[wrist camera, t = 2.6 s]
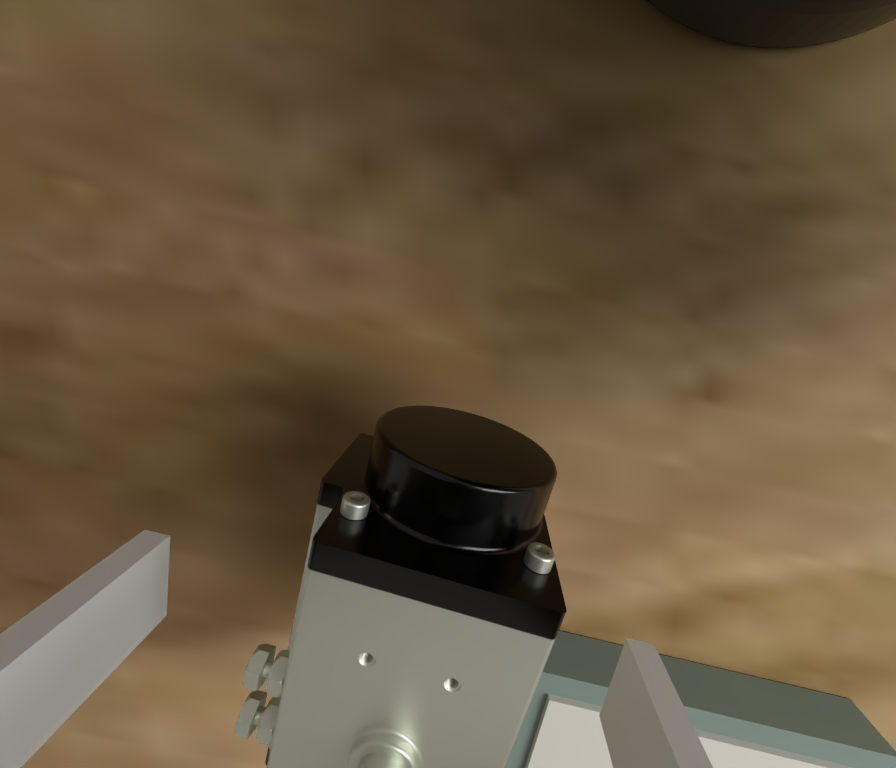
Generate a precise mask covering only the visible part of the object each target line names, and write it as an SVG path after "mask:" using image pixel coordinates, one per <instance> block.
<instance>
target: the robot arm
mask: <svg viewBox="0 0 896 768" xmlns="http://www.w3.org/2000/svg"><path fill="white" fill-rule="evenodd" d="M649 1H650V2H651V3H652V4H654V5H655V6H656V7H657V8H659V9H660V10H661V11H663V12H664V13H666V14H667V15H669V16H670V17H672V18H673V19H675V20H676V21H678V22H680V23H682V24H684V25H686V26H688V27H689V28H691V29H693V30H696V31H698V32H701V33H703V34H706V35H708V36H711V37H714V38H717V39H721V40H724V41H728V42H733V43H737V44H742V45H750V46H758V47H798V46H806V45H815V44H820V43H825V42H830V41H835V40H838V39H842V38H846V37H849V36H853V35H856V34H859V33H862V32H864V31H867V30H870V29H873V28H875V27H878V26H880V25H882V24H885V23H887V22H889V21H892V20H894V19H896V0H649ZM169 554H170V535H166V534H162V533H157V532H153V531H148V530H144V531H142V532H141V533H139V534H138V535H137V536H135V537H134V538H133V539H131V540H130V541H128V542H127V543H126V544H124V545H123V546H121V547H120V548H119V549H117V550H116V551H114V552H113V553H112V554H110V555H109V556H108V557H106V558H105V559H103V560H102V561H101V562H99V563H98V564H96V565H95V566H94V567H92V568H91V569H90V570H88V571H87V572H85V573H84V574H83V575H81V576H80V577H78V578H77V579H76V580H74V581H73V582H72V583H70V584H69V585H67V586H66V587H65V588H63V589H62V590H60V591H59V592H58V593H56V594H55V595H53V596H52V597H51V598H49V599H48V600H47V601H45V602H44V603H42V604H41V605H40V606H38V607H37V608H35V609H34V610H33V611H31V612H30V613H29V614H27V615H26V616H24V617H23V618H22V619H20V620H19V621H17V622H16V623H15V624H13V625H12V626H11V627H9V628H8V629H6V630H5V631H4V632H2V633H1V634H0V768H21V767H22V766H23V765H24V764H25V763H26V762H27V761H28V759H29V758H30V757H31V756H32V755H33V754H34V753H35V752H36V751H37V750H38V749H39V748H40V747H41V746H42V745H43V744H44V743H45V742H46V741H47V740H48V739H49V738H50V737H51V735H52V734H53V733H54V732H55V731H56V730H57V729H58V728H59V727H60V726H61V725H62V724H63V723H64V722H65V721H66V720H67V719H68V718H69V717H70V716H71V715H72V714H73V713H74V711H75V710H76V709H77V708H78V707H79V706H80V705H81V704H82V703H83V702H84V701H85V700H86V699H87V698H88V697H89V696H90V695H91V694H92V693H93V692H94V691H95V690H96V689H97V688H98V686H99V685H100V684H101V683H102V682H103V681H104V680H105V679H106V678H107V677H108V676H109V675H110V674H111V673H112V672H113V671H114V670H115V669H116V668H117V667H118V666H119V665H120V664H121V662H122V661H123V660H124V659H125V658H126V657H127V656H128V655H129V654H130V653H131V652H132V651H133V650H134V649H135V648H136V647H137V646H138V645H139V644H140V643H141V642H142V641H143V640H144V639H145V637H146V636H147V635H148V634H149V633H150V632H151V631H152V630H153V629H154V628H155V627H156V626H157V625H158V624H159V623H160V622H161V621H162V620H163V619H164V618H165V617H166V616H167V596H168V575H169ZM599 717H600V721H601V724H602V728H603V732H604V735H605V739H606V743H607V746H608V750H609V754H610V757H611V761H612V765H613V768H713V766H712V764H711V762H710V760H709V758H708V756H707V754H706V752H705V750H704V748H703V746H702V743H701V741H700V739H699V737H698V735H697V733H696V731H695V729H694V727H693V725H692V723H691V720H690V718H689V716H688V714H687V712H686V710H685V708H684V706H683V704H682V702H681V700H680V697H679V695H678V693H677V691H676V689H675V687H674V685H673V683H672V681H671V679H670V677H669V674H668V672H667V670H666V668H665V666H664V664H663V662H662V660H661V658H660V656H659V654H658V651H657V649H656V647H655V645H654V644H651V643H646V642H642V641H638V640H633V639H629V638H626V641H625V643H624V646H623V649H622V652H621V655H620V658H619V660H618V663H617V666H616V669H615V672H614V675H613V678H612V680H611V683H610V686H609V689H608V692H607V695H606V697H605V700H604V703H603V706H602V709H601V712H600V714H599Z"/></svg>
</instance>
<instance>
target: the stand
mask: <svg viewBox="0 0 896 768" xmlns="http://www.w3.org/2000/svg"><path fill="white" fill-rule="evenodd" d="M622 649H623V646H622V645H618V644H614V643H610V642H605V641H601V640H597V639H593V638H588V637H584V636H580V635H576V634H571V633H567V632H563V631H558V634H557V636H556V639H555V641H554V644H553V646H552V649H551V651H550V654H549V656H548V659H547V661H546V664H545V667H544V669H543V672H542V674H541V677H540V679H539V682H538V684H537V687H536V689H535V692H534V694H533V697H532V700H531V702H530V705H529V707H528V710H527V712H526V715H525V717H524V720H523V722H522V725H521V728H520V730H519V733H518V735H517V738H516V740H515V743H514V745H513V748H512V750H511V753H510V755H509V758H508V761H507V763H506V766H505V768H613V765H612V761H611V757H610V754H609V750H608V746H607V743H606V739H605V735H604V732H603V728H602V724H601V721H600V717H599V714H600V712H601V709H602V706H603V703H604V700H605V697H606V695H607V692H608V689H609V686H610V683H611V680H612V678H613V675H614V672H615V669H616V666H617V663H618V660H619V658H620V655H621V652H622ZM659 656H660V658H661V660H662V662H663V664H664V666H665V668H666V670H667V672H668V674H669V677H670V679H671V681H672V683H673V685H674V687H675V689H676V691H677V693H678V695H679V697H680V700H681V702H682V704H683V706H684V708H685V710H686V712H687V714H688V716H689V718H690V720H691V723H692V725H693V727H694V729H695V731H696V733H697V735H698V737H699V739H700V741H701V743H702V746H703V748H704V750H705V752H706V754H707V756H708V758H709V760H710V762H711V764H712V766H713V768H895V767H896V752H895V750H894V749H893V748H892V747H891V746H890V745H889V743H888V742H887V741H886V740H885V739H884V738H883V736H882V735H881V734H880V733H879V732H878V731H877V730H876V728H875V727H874V726H873V725H872V724H871V723H870V721H869V720H868V719H867V718H866V717H865V716H864V714H863V713H862V712H861V711H860V710H859V709H858V708H857V706H856V705H855V704H854V703H853V702H852V701H851V699H847V698H843V697H839V696H835V695H830V694H826V693H822V692H818V691H813V690H809V689H805V688H801V687H796V686H792V685H788V684H784V683H779V682H775V681H771V680H767V679H762V678H758V677H754V676H750V675H745V674H741V673H737V672H733V671H729V670H724V669H720V668H716V667H712V666H707V665H703V664H699V663H695V662H690V661H686V660H682V659H678V658H673V657H669V656H665V655H661V654H659Z"/></svg>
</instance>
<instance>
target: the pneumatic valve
mask: <svg viewBox="0 0 896 768" xmlns="http://www.w3.org/2000/svg"><path fill="white" fill-rule="evenodd" d="M556 476H557V470H556V466H555V463H554V461H553V460H552V458H551V457H550V456H549V454H548V453H547V452H546V451H545V450H544V449H543V448H542V447H540V446H539V445H538V444H537V443H535V442H534V441H532V440H531V439H530V438H528V437H526V436H525V435H523V434H521V433H519V432H518V431H516V430H514V429H512V428H510V427H507V426H505V425H503V424H501V423H498V422H496V421H493V420H490V419H488V418H485V417H482V416H478V415H475V414H472V413H468V412H464V411H459V410H455V409H449V408H443V407H435V406H406V407H400V408H396V409H393V410H390V411H388V412H386V413H385V414H384V415H382V416H381V417H380V418H379V420H378V422H377V425H376V429H375V433H374V436H370V435H367V434H360V435H359V436H358V437H357V438H356V439H355V441H354V442H353V443H352V444H351V445H350V446H349V448H348V449H347V450H346V451H345V452H344V454H343V455H342V456H341V457H340V458H339V459H338V461H337V462H336V463H335V464H334V465H333V467H332V468H331V469H330V470H329V471H328V472H327V474H326V475H325V476H324V477H323V478H322V481H321V486H320V491H319V496H318V501H317V506H316V511H315V516H314V521H313V526H312V531H311V536H310V541H309V546H308V551H307V556H306V561H305V566H304V571H303V577H302V582H301V587H300V592H299V597H298V602H297V607H296V612H295V617H294V622H293V627H292V632H291V637H290V642H289V647H288V650H283V651H281V652H280V653H279V654H278V655H277V657H276V659H275V660H274V655H275V650H276V646H273V645H270V644H261V645H259V646H258V647H257V649H256V650H255V652H254V653H253V655H252V657H251V659H250V661H249V663H248V666H247V668H246V671H245V674H244V678H243V684H244V686H245V687H246V689H249V690H252V691H253V692H251V693H250V694H249V696H248V697H247V699H246V701H245V703H244V705H243V707H242V709H241V711H240V713H239V716H238V719H237V722H236V725H235V733H236V734H237V736H238V737H241V738H244V739H248V738H249V737H250V735H251V734H252V733H253V731H254V730H255V728H256V726H258V729H257V733H256V739H257V740H258V742H259V743H261V744H264V745H269V747H268V752H267V757H266V762H265V763H266V765H267V768H505V766H506V763H507V761H508V758H509V755H510V753H511V750H512V748H513V745H514V743H515V740H516V738H517V735H518V733H519V730H520V728H521V725H522V722H523V720H524V717H525V715H526V712H527V710H528V707H529V705H530V702H531V700H532V697H533V694H534V692H535V689H536V687H537V684H538V682H539V679H540V677H541V674H542V672H543V669H544V667H545V664H546V661H547V659H548V656H549V654H550V651H551V649H552V646H553V644H554V641H555V639H556V636H557V634H558V631H559V628H560V626H561V623H562V621H563V618H564V616H565V613H566V606H565V602H564V598H563V593H562V589H561V585H560V580H559V576H558V572H557V567H556V563H555V554H554V552H553V550H552V546H551V542H550V537H549V533H548V529H547V524H546V520H545V516H544V511H545V508H546V506H547V503H548V500H549V497H550V494H551V492H552V489H553V486H554V483H555V480H556ZM265 679H267V681H266V685H265V691H266V692H263V691H259V690H258V689H259V688H260V687H261V686H262V685H263V683H264V681H265ZM267 694H268V695H269V696H272V697H273V698H272V699H271V700H270V701H269V703H268V705H267V707H265V702H266V697H267Z"/></svg>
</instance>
